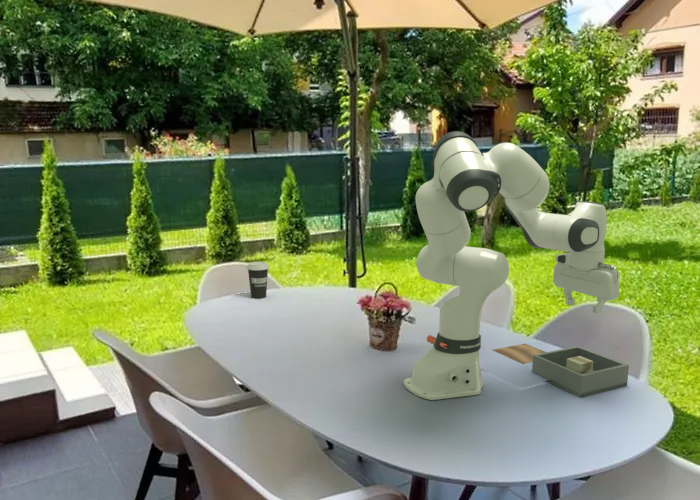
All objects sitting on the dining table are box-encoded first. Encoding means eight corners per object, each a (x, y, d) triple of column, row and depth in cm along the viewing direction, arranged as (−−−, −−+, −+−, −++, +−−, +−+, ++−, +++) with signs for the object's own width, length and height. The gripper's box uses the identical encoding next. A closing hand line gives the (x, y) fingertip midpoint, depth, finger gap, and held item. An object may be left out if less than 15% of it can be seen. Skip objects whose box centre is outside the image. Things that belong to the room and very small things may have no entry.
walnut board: (522, 367, 181) (522, 363, 181) (491, 352, 193) (492, 349, 193) (556, 359, 187) (556, 356, 187) (524, 346, 200) (525, 343, 199)
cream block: (579, 381, 168) (580, 364, 167) (565, 375, 172) (566, 358, 171) (592, 378, 170) (593, 361, 169) (578, 372, 174) (579, 355, 173)
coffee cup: (244, 299, 260) (243, 265, 258) (251, 293, 269) (250, 261, 267) (265, 300, 259) (265, 265, 256) (272, 294, 268) (271, 261, 265)
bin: (580, 397, 159) (582, 376, 158) (531, 374, 175) (533, 355, 174) (627, 385, 167) (628, 365, 166) (576, 364, 183) (577, 345, 182)
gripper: (627, 265, 157) (622, 316, 160) (566, 253, 175) (563, 299, 178) (610, 267, 155) (606, 319, 157) (550, 255, 173) (548, 301, 175)
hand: (583, 308), depth 167 cm, fingers open, 8 cm apart
